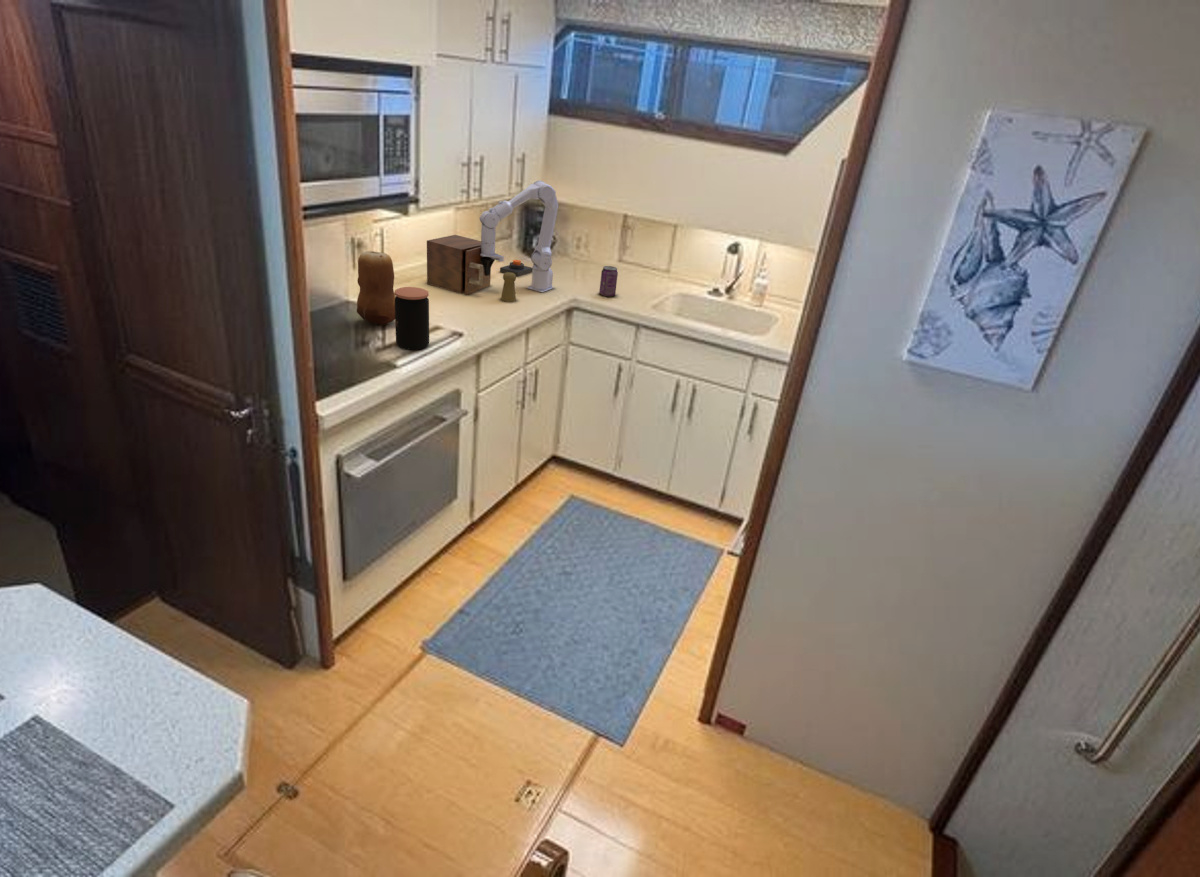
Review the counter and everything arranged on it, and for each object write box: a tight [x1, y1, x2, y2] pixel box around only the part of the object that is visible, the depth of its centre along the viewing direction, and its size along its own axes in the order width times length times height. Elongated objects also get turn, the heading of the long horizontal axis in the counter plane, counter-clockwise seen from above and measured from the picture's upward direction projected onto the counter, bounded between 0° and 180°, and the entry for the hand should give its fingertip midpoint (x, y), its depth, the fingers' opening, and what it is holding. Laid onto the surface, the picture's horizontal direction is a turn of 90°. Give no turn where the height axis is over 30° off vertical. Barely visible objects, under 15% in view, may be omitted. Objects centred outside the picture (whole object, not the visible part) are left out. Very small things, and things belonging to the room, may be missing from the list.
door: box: [464, 247, 492, 296], centre depth 284 cm, size 7×18×18 cm, turn 157°
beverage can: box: [598, 265, 619, 297], centre depth 300 cm, size 7×7×12 cm
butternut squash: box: [356, 250, 396, 326], centre depth 236 cm, size 14×13×25 cm
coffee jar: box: [394, 286, 430, 351], centre depth 224 cm, size 11×11×18 cm
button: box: [512, 259, 522, 265], centre depth 317 cm, size 4×4×2 cm
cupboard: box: [426, 234, 481, 294], centre depth 288 cm, size 18×18×18 cm
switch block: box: [499, 261, 533, 278], centre depth 319 cm, size 12×10×4 cm
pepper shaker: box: [500, 272, 517, 303], centre depth 279 cm, size 6×6×11 cm
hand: (487, 275), depth 287 cm, fingers closed
